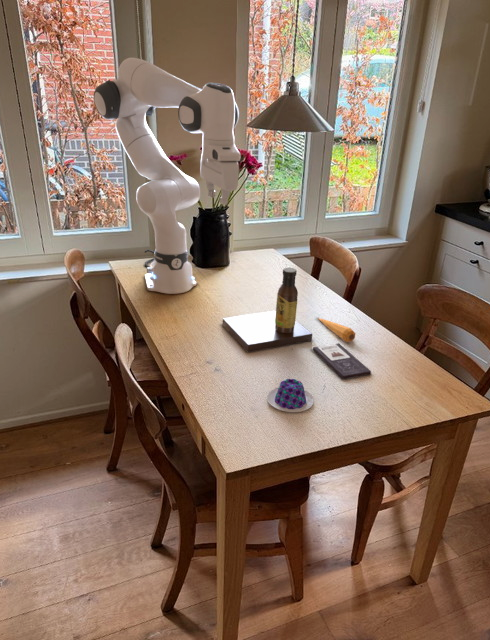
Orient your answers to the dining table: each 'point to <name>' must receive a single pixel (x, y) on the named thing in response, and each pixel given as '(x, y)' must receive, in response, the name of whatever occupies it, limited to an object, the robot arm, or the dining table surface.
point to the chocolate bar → (341, 361)
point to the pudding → (290, 396)
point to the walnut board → (263, 331)
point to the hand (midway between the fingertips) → (217, 200)
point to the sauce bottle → (286, 302)
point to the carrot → (340, 330)
